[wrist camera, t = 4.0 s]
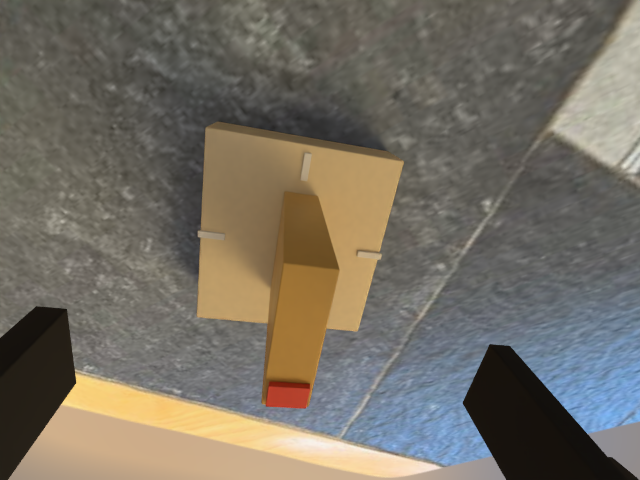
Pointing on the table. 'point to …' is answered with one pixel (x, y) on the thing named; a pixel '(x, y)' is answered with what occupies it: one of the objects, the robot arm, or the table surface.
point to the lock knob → (298, 302)
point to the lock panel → (265, 213)
